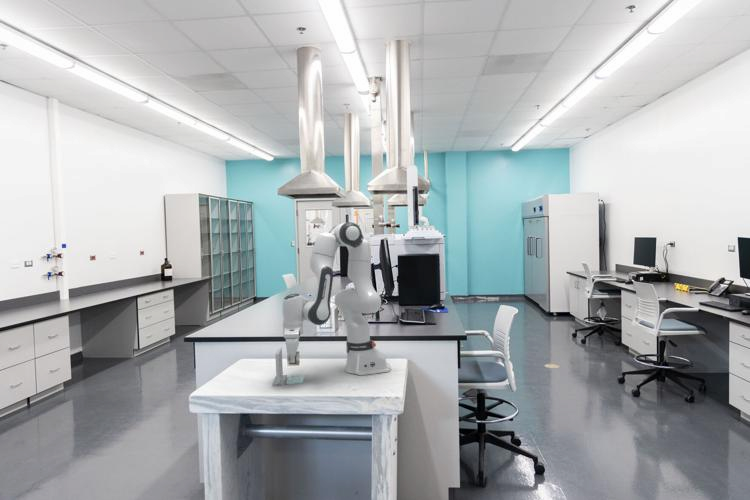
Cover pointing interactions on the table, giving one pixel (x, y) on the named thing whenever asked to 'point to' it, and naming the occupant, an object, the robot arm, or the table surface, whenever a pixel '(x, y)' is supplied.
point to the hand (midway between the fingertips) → (293, 360)
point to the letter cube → (295, 360)
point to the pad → (295, 380)
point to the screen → (279, 369)
